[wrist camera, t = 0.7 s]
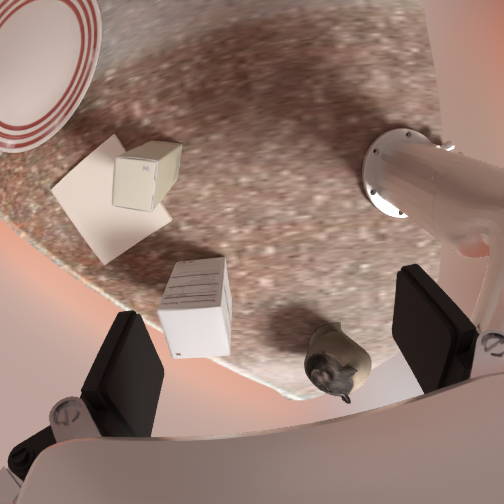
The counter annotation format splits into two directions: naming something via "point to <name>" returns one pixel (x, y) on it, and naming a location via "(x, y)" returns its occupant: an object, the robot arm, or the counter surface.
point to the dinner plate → (44, 66)
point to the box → (145, 175)
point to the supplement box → (197, 309)
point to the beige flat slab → (104, 205)
